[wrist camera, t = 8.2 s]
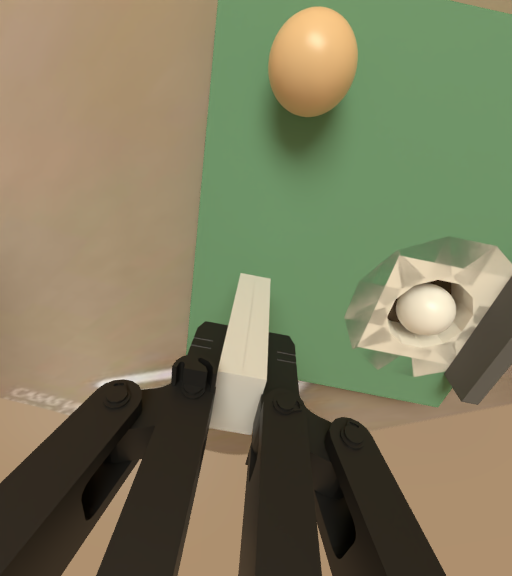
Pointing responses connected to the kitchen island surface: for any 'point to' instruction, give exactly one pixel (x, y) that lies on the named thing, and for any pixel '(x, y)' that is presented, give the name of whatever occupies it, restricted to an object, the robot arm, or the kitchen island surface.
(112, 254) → the kitchen island surface
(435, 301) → the ball
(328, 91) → the brown egg
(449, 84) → the putting mat
